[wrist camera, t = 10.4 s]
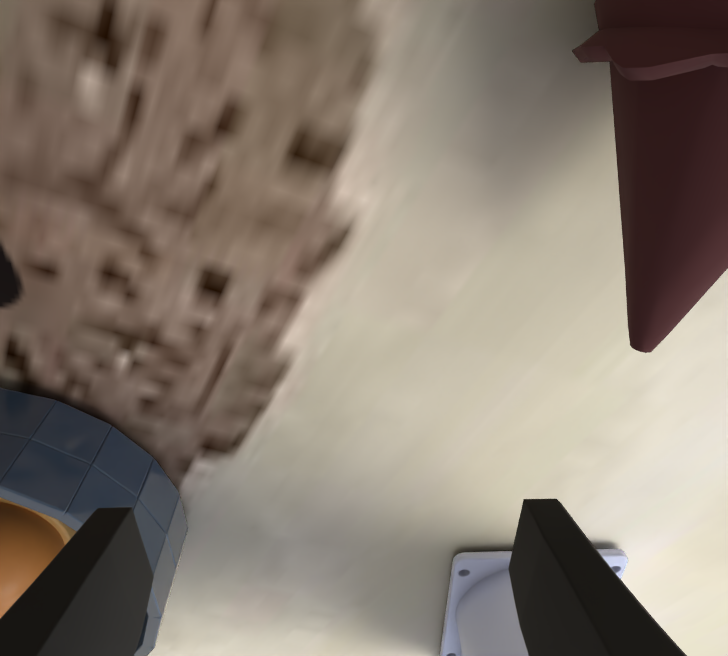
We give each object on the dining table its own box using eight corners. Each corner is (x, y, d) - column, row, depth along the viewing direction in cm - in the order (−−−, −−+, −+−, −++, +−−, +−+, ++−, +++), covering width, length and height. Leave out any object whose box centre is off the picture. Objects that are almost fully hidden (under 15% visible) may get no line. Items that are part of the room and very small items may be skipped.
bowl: (209, 593, 27) (186, 694, 23) (-66, 599, 26) (-136, 704, 23) (158, 375, 20) (112, 467, 16) (-215, 380, 20) (-351, 476, 16)
